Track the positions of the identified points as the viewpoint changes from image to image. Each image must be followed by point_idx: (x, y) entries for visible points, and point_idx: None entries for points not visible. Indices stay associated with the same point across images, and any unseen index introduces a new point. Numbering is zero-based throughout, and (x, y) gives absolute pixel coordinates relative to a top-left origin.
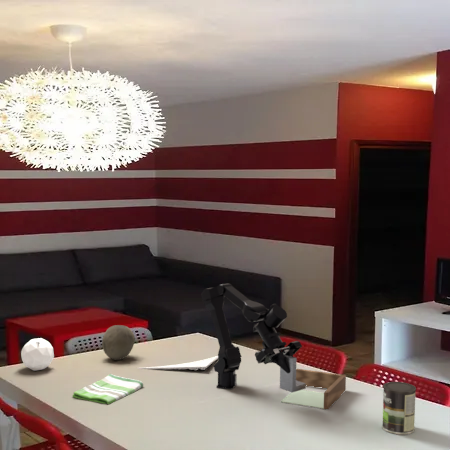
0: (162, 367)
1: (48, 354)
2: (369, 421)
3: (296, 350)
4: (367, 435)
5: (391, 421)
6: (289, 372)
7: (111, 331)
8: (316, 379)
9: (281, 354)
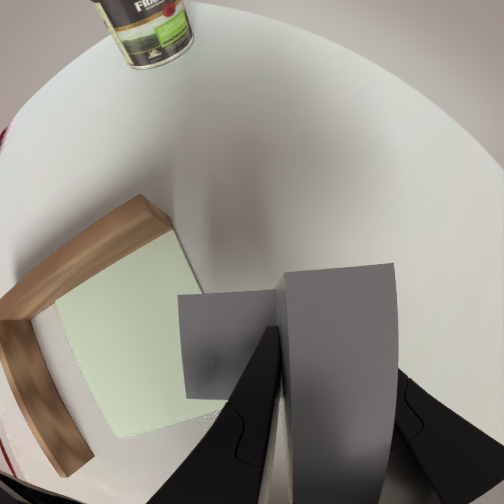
0: None
1: None
2: (161, 90)
3: (43, 495)
4: (246, 44)
5: (187, 17)
6: None
7: None
8: (42, 402)
9: (474, 460)
